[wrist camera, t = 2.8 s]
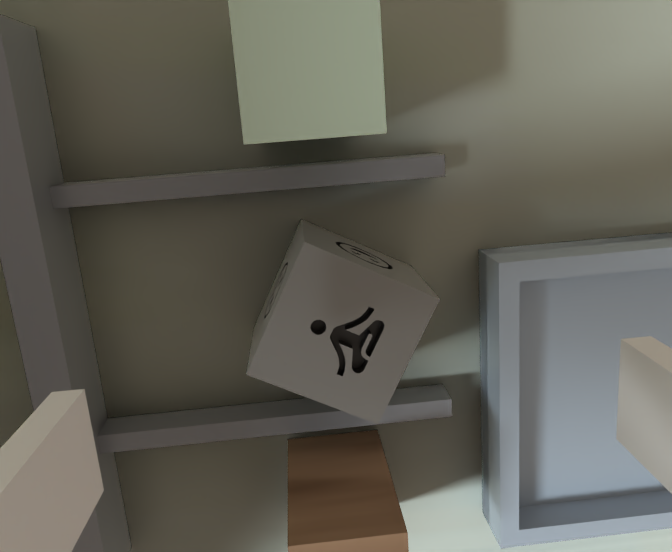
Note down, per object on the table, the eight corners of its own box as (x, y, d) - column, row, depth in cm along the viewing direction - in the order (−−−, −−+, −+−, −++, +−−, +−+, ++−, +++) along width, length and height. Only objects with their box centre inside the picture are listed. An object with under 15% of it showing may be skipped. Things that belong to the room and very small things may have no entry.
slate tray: (739, 482, 29) (780, 515, 27) (482, 512, 28) (500, 548, 26) (767, 223, 26) (816, 234, 24) (478, 249, 25) (498, 262, 23)
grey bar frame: (446, 510, 28) (465, 554, 25) (97, 550, 27) (75, 601, 24) (430, 1, 23) (451, -17, 20) (-8, 29, 22) (-53, 16, 19)
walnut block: (382, 507, 28) (412, 630, 21) (295, 517, 28) (298, 644, 21) (377, 429, 27) (407, 532, 20) (287, 439, 27) (287, 546, 20)
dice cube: (361, 369, 26) (378, 424, 21) (254, 326, 25) (246, 374, 21) (411, 265, 25) (440, 299, 20) (301, 218, 24) (304, 241, 20)
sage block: (358, 130, 24) (387, 133, 17) (256, 138, 23) (243, 144, 17) (351, 21, 23) (378, -23, 16) (244, 28, 22) (226, -13, 16)
